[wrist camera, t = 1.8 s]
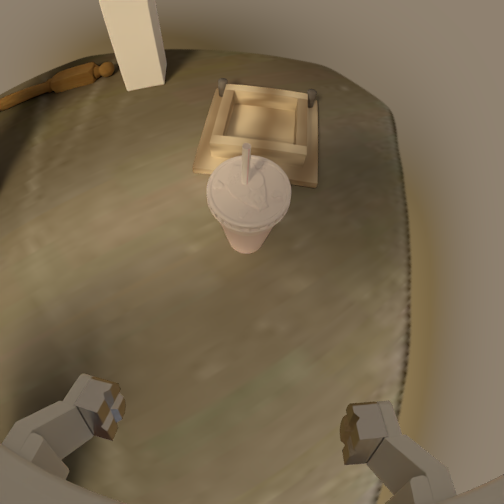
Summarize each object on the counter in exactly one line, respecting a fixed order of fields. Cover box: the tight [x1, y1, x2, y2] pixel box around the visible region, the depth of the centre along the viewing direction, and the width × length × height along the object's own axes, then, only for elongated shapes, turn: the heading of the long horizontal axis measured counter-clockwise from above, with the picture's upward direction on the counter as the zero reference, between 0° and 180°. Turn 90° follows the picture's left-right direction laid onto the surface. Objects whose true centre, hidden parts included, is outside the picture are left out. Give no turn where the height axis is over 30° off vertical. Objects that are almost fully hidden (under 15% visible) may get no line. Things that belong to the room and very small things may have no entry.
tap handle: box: [0, 62, 114, 111], centre depth 38 cm, size 3×3×30 cm
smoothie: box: [207, 143, 291, 254], centre depth 24 cm, size 6×6×14 cm
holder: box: [193, 78, 318, 188], centre depth 34 cm, size 14×14×4 cm
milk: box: [99, 0, 167, 91], centre depth 29 cm, size 6×6×22 cm
